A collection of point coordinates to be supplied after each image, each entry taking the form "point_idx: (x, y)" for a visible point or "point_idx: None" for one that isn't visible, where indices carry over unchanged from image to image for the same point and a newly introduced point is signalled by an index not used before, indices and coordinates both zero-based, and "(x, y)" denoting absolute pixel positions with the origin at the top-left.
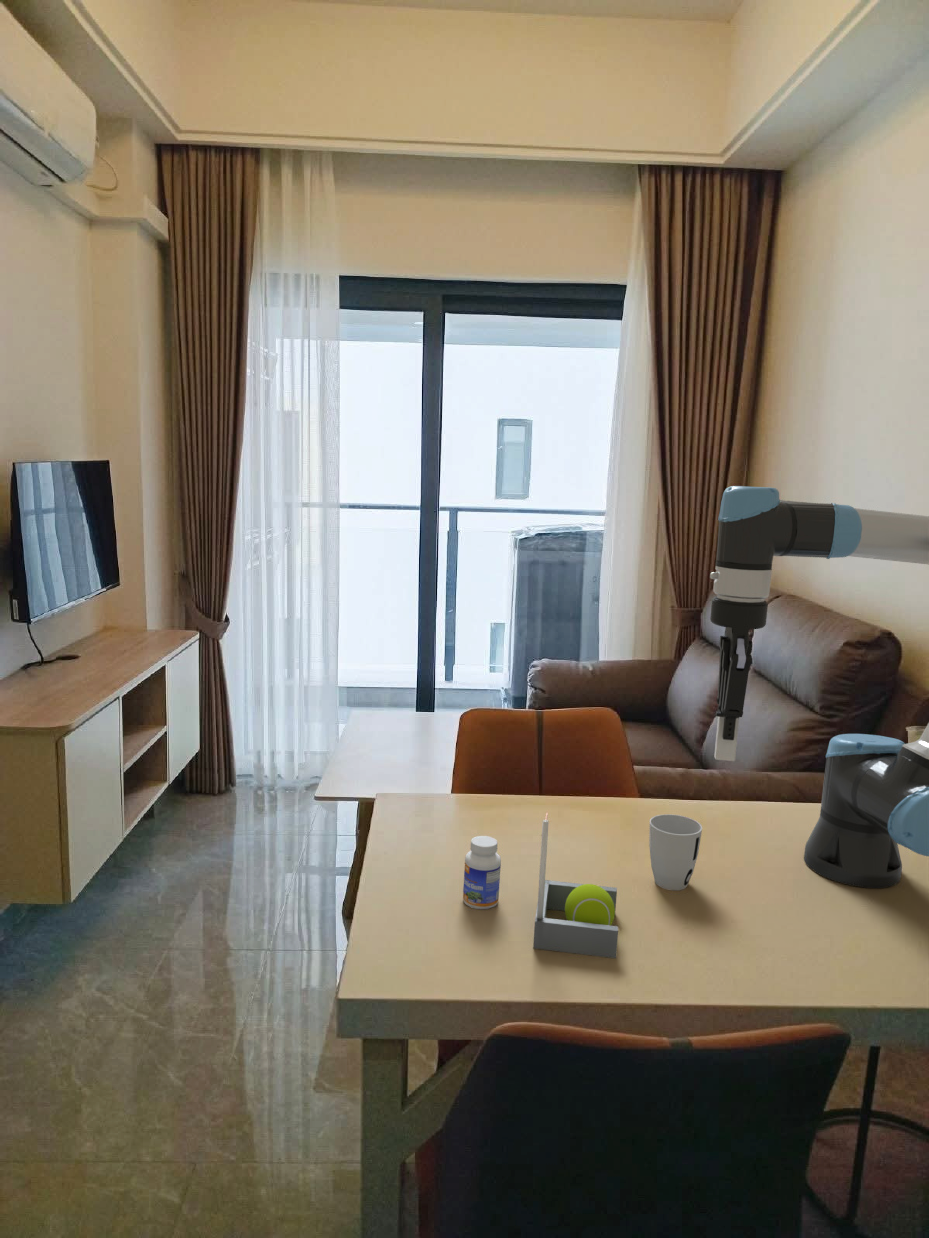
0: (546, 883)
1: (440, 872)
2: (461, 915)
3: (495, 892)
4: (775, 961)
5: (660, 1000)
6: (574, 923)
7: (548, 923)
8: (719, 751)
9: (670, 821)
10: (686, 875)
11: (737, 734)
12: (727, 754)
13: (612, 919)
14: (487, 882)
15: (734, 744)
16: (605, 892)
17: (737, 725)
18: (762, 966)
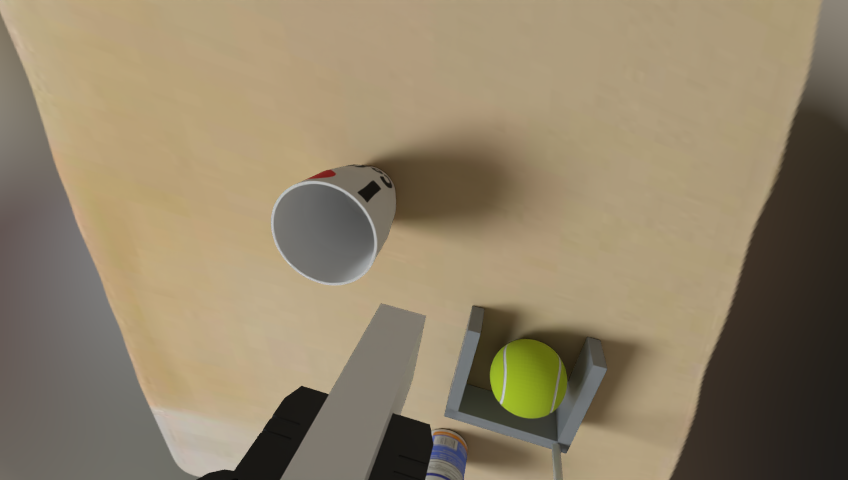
0: (456, 413)
1: None
2: (480, 467)
3: (458, 452)
4: (646, 98)
5: (719, 318)
6: (577, 413)
7: (572, 440)
8: (405, 396)
9: (282, 222)
10: (391, 188)
11: (388, 414)
12: (413, 361)
13: (553, 353)
14: (462, 477)
15: (404, 377)
16: (533, 383)
17: (367, 469)
18: (658, 130)
